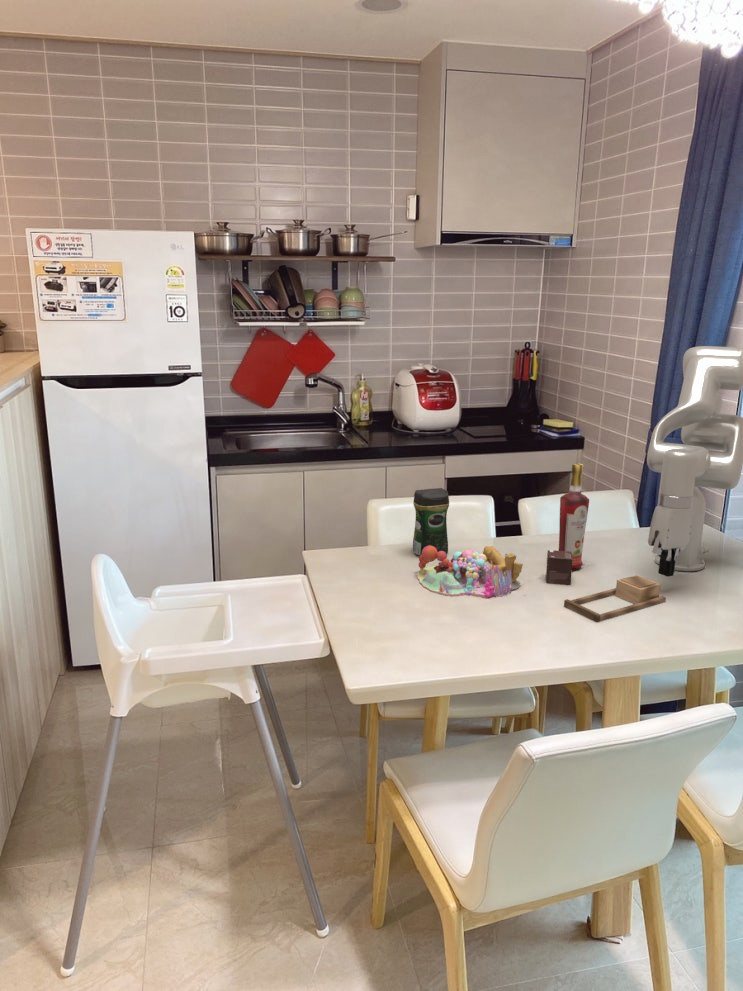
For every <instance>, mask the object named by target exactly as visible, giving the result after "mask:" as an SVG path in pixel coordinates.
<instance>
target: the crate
mask: <svg viewBox="0 0 743 991" xmlns="http://www.w3.org/2000/svg"><path fill="white" fill-rule="evenodd" d="M615 588H616V594H615V595H614V596H616V597H617V598H620V599H622V600H625V601H627V602H629V603H631V604H632V605H633V604H637V603H640V602H644V601H647V600H650V599H654V598H657V597H660V594H661V592H660V591H661V583H658V582H656V581H653V580H651V579H648V578H646V577H643V576H640V575H638V574H635V575H632V576H628V577H623V578H620V579H616V586H615Z"/></svg>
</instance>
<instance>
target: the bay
mask: <svg viewBox="0 0 743 991" xmlns="http://www.w3.org/2000/svg"><path fill="white" fill-rule="evenodd" d="M615 594H616V587H614V588H612V589H607V590H603V591H600V592H596V593H592V594H589V595H585V596H581V597H577V598H574V599H571V600H570V599H564V600H563V608H565V609H568V610H570V611H572V612H574V613H576V614H579V615H580V616H582V617H584V618H587V619H589V620H591V621H593V622H595V623H600V622H603V621H606V620H610V619H613V618H616V617H620V616H624V615H626V614H630V613H633V612H637V611H640V610H643V609H646V608H647V609H648V608H650V607H654V606H657V605H659V604H663V603H666V600H667V597H666V596H664V595H661V596H659V597H657V598H654V599H650V600H647V601H644V602H640V603H637V604H633V603H632V604H630V605H627V606H623V607H619V608H617V609H613V610H611V611H607V612H604V613H598V612H596V611H594V610H592V609H589V608H588V607H585V606H583V605H584V604H588V603H591V602H594V601H598V600H602V599H605V598H608V597H612V596H615Z"/></svg>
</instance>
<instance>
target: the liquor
mask: <svg viewBox="0 0 743 991" xmlns="http://www.w3.org/2000/svg"><path fill="white" fill-rule="evenodd" d="M583 469H584V464H583V463H576V462H575V463H572V464H571V475H572V477H571V480H570V487H569V492H566V493H565V494H563V495H562V496H560V498H559V499H560V500H559V501H560V502H559V531H558V532H559V535H558V536H559V537H558V551H570V552H572V557H573V561H572V571H575V570H578V569H579V568H581V567H582V566H583V565H584V563H583V561H582V559H583V548H584V541H585V533H586V528H587V527H586V526H587V523H588V522H587V520H588V513H589V507H590V506H589V504H590V498H588V497H587V495H585V494H583V493H582V474H583V471H584V470H583Z"/></svg>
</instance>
